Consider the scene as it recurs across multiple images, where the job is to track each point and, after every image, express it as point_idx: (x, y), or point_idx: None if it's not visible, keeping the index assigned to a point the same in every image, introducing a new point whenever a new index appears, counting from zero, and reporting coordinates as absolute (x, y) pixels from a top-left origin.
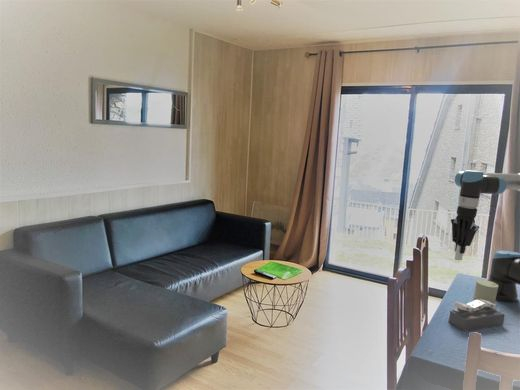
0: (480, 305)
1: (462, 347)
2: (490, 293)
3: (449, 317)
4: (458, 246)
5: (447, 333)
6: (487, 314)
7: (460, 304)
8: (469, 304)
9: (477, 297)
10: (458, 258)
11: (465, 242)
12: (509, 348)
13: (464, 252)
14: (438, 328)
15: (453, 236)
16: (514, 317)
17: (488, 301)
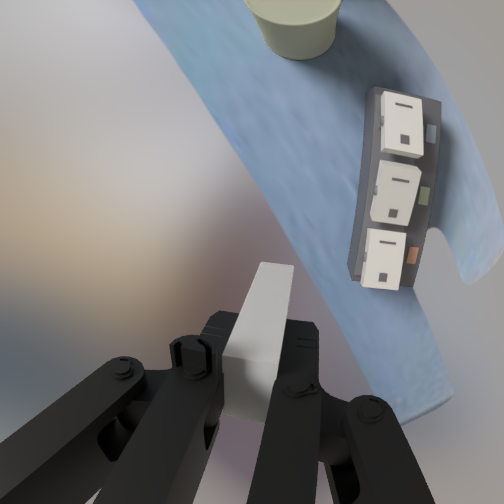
0: (415, 195)
1: (435, 340)
2: (335, 19)
3: (349, 270)
4: (251, 409)
5: (386, 323)
6: (424, 170)
7: (384, 286)
8: (382, 217)
9: (293, 46)
10: (287, 317)
11: (342, 486)
12: (495, 235)
13: (318, 331)
14: (359, 324)
15: (106, 456)
16: (391, 10)
17: (389, 100)
